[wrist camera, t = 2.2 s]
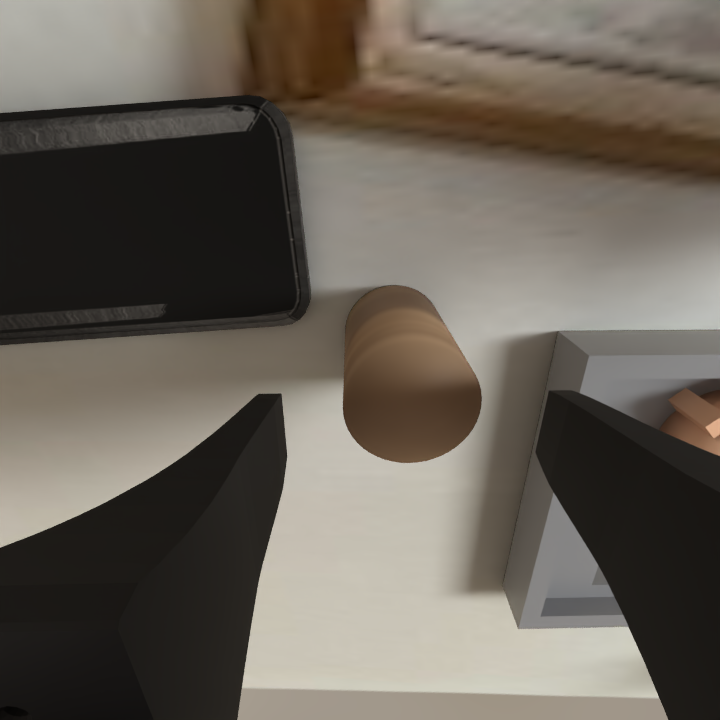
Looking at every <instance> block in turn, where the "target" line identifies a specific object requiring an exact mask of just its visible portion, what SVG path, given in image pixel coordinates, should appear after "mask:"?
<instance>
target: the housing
mask: <svg viewBox="0 0 720 720" xmlns="http://www.w3.org/2000/svg"><path fill="white" fill-rule="evenodd" d="M549 390H572V391H575V392H578V393H581V394H583V395H586V396H588V397H590V398H593V399H595V400H597V401H599V402H601V403H603V404H606V405H608V406H610V407H612V408H614V409H616V410H618V411H620V412H622V413H624V414H626V415H628V416H630V417H632V418H635V419H637V420H639V421H641V422H643V423H645V424H647V425H649V426H651V427H653V428H656V429H658V430H660V431H662V432H664V433H666V434H669V435H671V436H673V437H675V438H678V439H680V440H682V441H685V442H687V443H689V444H692V445H694V446H696V447H698V448H701V449H703V450H706V451H708V452H711V453H713V454H716V455H718V456H720V330H643V331H558V335H557V339H556V344H555V348H554V353H553V358H552V362H551V367H550V371H549V376H548V380H547V385H546V390H545V394H544V399H543V403H542V408H541V412H540V417H539V422H538V426H537V431H536V435H535V440H534V445H533V449H532V454H531V458H530V463H529V467H528V472H527V477H526V481H525V486H524V490H523V495H522V499H521V504H520V509H519V513H518V518H517V522H516V527H515V532H514V536H513V541H512V545H511V550H510V554H509V559H508V564H507V568H506V573H505V577H504V582H503V588H504V591H505V594H506V596H507V599H508V602H509V605H510V608H511V610H512V613H513V616H514V619H515V621H516V624H517V627H518V629H543V628H590V627H629V626H628V624H627V622H626V620H625V618H624V615H623V613H622V611H621V609H620V607H619V605H618V603H617V601H616V599H615V597H614V595H613V593H612V591H611V589H610V587H609V585H608V583H607V581H606V579H605V577H604V575H603V573H602V571H601V569H600V568H599V566H598V564H597V562H596V561H595V559H594V557H593V556H592V554H591V552H590V551H589V549H588V547H587V546H586V544H585V543H584V541H583V539H582V538H581V536H580V535H579V533H578V531H577V530H576V528H575V526H574V525H573V523H572V522H571V520H570V518H569V517H568V515H567V514H566V512H565V510H564V509H563V507H562V505H561V504H560V502H559V500H558V499H557V497H556V495H555V494H554V492H553V490H552V489H551V487H550V485H549V483H548V481H547V479H546V477H545V475H544V472H543V470H542V468H541V465H540V463H539V460H538V458H537V455H536V453H535V451H536V446H537V442H538V437H539V433H540V428H541V423H542V419H543V414H544V410H545V405H546V401H547V396H548V392H549Z"/></svg>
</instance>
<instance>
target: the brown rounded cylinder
mask: <svg viewBox="0 0 720 720" xmlns="http://www.w3.org/2000/svg"><path fill="white" fill-rule="evenodd" d="M481 401H482V397H481V389H480V385H479V382H478V379H477V377H476V375H475V373H474V372H473V370H472V368H471V367H470V365H469V363H468V362H467V360H466V358H465V357H464V355H463V353H462V352H461V350H460V348H459V347H458V345H457V343H456V342H455V340H454V338H453V337H452V335H451V333H450V332H449V330H448V328H447V327H446V325H445V323H444V322H443V320H442V318H441V317H440V315H439V313H438V312H437V310H436V309H435V307H434V305H433V304H432V302H431V301H430V300H429V299H428V298H427V297H426V296H425V295H423V294H422V293H420V292H419V291H417V290H415V289H412V288H409V287H405V286H398V285H391V286H384V287H380V288H377V289H375V290H373V291H370V292H369V293H367V294H366V295H364V296H363V297H362V298H361V299H359V300H358V302H357V303H356V304H355V305H354V307H353V308H352V309H351V311H350V313H349V316H348V318H347V322H346V328H345V358H344V390H343V414H344V419H345V423H346V425H347V428H348V430H349V432H350V433H351V435H352V437H353V438H354V439H355V440H356V442H357V443H358V444H359V445H360V446H362V447H363V448H364V449H365V450H367V451H368V452H370V453H371V454H373V455H375V456H377V457H380V458H382V459H385V460H389V461H394V462H401V463H413V462H422V461H427V460H430V459H434V458H436V457H439V456H441V455H443V454H445V453H447V452H449V451H451V450H452V449H454V448H455V447H456V446H458V445H459V444H460V443H461V442H462V441H463V440H464V439H465V438H466V437H467V436H468V435H469V433H470V432H471V431H472V429H473V428H474V426H475V424H476V422H477V419H478V417H479V414H480V409H481Z"/></svg>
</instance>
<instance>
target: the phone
mask: <svg viewBox="0 0 720 720" xmlns="http://www.w3.org/2000/svg"><path fill="white" fill-rule="evenodd" d="M308 275H309V269H308V260H307V252H306V243H305V235H304V226H303V218H302V209H301V201H300V192H299V184H298V175H297V167H296V158H295V150H294V141H293V135H292V131H291V127H290V124H289V122H288V120H287V118H286V117H285V115H284V113H283V112H282V111H281V110H280V109H279V108H277V107H276V106H275V105H274V104H273V103H272V102H270V101H268V100H266V99H264V98H262V97H260V96H251V95H244V96H230V97H217V98H203V99H189V100H176V101H162V102H148V103H134V104H121V105H107V106H93V107H80V108H66V109H52V110H38V111H25V112H11V113H0V345H9V344H24V343H38V342H53V341H67V340H82V339H96V338H111V337H126V336H140V335H155V334H170V333H184V332H199V331H214V330H228V329H243V328H257V327H272V326H284V325H289V324H293V323H294V322H296V321H298V320H300V319H301V317H302V316H303V315H304V314H305V313H306V310H307V308H308V305H309V302H310V299H311V286H310V277H308Z"/></svg>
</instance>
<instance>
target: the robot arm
mask: <svg viewBox="0 0 720 720" xmlns="http://www.w3.org/2000/svg"><path fill="white" fill-rule="evenodd" d="M535 453H536V455H537V458H538V460H539V463H540V465H541V468H542V470H543V472H544V475H545V477H546V479H547V481H548V483H549V485H550V487H551V489H552V490H553V492H554V494H555V495H556V497H557V499H558V500H559V502H560V504H561V505H562V507H563V509H564V510H565V512H566V514H567V515H568V517H569V518H570V520H571V522H572V523H573V525H574V526H575V528H576V530H577V531H578V533H579V535H580V536H581V538H582V539H583V541H584V543H585V544H586V546H587V547H588V549H589V551H590V552H591V554H592V556H593V557H594V559H595V561H596V562H597V564H598V566H599V568H600V569H601V571H602V573H603V575H604V577H605V579H606V581H607V583H608V585H609V587H610V589H611V591H612V593H613V595H614V597H615V599H616V601H617V603H618V605H619V607H620V609H621V611H622V613H623V615H624V618H625V620H626V622H627V624H628V626H629V629H630V631H631V633H632V635H633V638H634V640H635V642H636V644H637V646H638V649H639V651H640V653H641V655H642V657H643V660H644V662H645V664H646V667H647V669H648V672H649V674H650V676H651V679H652V681H653V684H654V686H655V688H656V691H657V693H658V696H659V698H660V700H661V703H662V705H663V707H664V710H665V712H666V715H667V717H668V720H720V456H718V455H716V454H713V453H711V452H708V451H706V450H703V449H701V448H698V447H696V446H694V445H692V444H689V443H687V442H685V441H682V440H680V439H678V438H675V437H673V436H671V435H669V434H666V433H664V432H662V431H660V430H658V429H656V428H653V427H651V426H649V425H647V424H645V423H643V422H641V421H639V420H637V419H635V418H632V417H630V416H628V415H626V414H624V413H622V412H620V411H618V410H616V409H614V408H612V407H610V406H608V405H606V404H603V403H601V402H599V401H597V400H595V399H593V398H590V397H588V396H586V395H583V394H581V393H578V392H575V391H572V390H549V392H548V396H547V401H546V405H545V410H544V414H543V419H542V423H541V428H540V433H539V437H538V442H537V446H536V451H535ZM286 461H287V449H286V438H285V427H284V416H283V406H282V395H281V394H258V395H257V396H255V397H254V398H253V399H252V400H251V401H250V402H249V403H247V404H246V405H245V406H244V407H243V408H242V409H241V410H240V411H239V412H238V413H236V414H235V415H234V416H233V417H232V418H231V419H230V420H228V421H227V422H226V423H225V424H224V425H223V426H222V427H220V428H219V429H218V430H217V431H216V432H214V433H213V434H212V435H211V436H209V437H208V438H207V439H205V440H204V441H203V442H202V443H200V444H199V445H198V446H196V447H195V448H194V449H193V450H191V451H190V452H189V453H187V454H186V455H185V456H183V457H182V458H180V459H179V460H177V461H176V462H174V463H173V464H172V465H170V466H168V467H167V468H165V469H164V470H162V471H161V472H159V473H157V474H156V475H154V476H153V477H151V478H149V479H148V480H146V481H144V482H142V483H141V484H139V485H137V486H135V487H133V488H131V489H130V490H128V491H126V492H124V493H122V494H120V495H119V496H117V497H115V498H113V499H111V500H109V501H107V502H106V503H104V504H102V505H100V506H98V507H95V508H93V509H91V510H89V511H87V512H85V513H83V514H81V515H79V516H77V517H74V518H72V519H70V520H67V521H65V522H63V523H61V524H58V525H56V526H54V527H52V528H49V529H47V530H44V531H42V532H40V533H37V534H35V535H32V536H30V537H27V538H25V539H22V540H19V541H17V542H14V543H11V544H9V545H6V546H4V547H1V548H0V720H237V717H238V710H239V702H240V696H241V689H242V682H243V675H244V668H245V662H246V655H247V649H248V642H249V636H250V629H251V623H252V617H253V611H254V605H255V599H256V593H257V587H258V582H259V577H260V573H261V568H262V564H263V561H264V557H265V553H266V550H267V546H268V542H269V539H270V535H271V531H272V527H273V524H274V520H275V516H276V513H277V509H278V505H279V501H280V498H281V494H282V490H283V484H284V477H285V469H286Z"/></svg>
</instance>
